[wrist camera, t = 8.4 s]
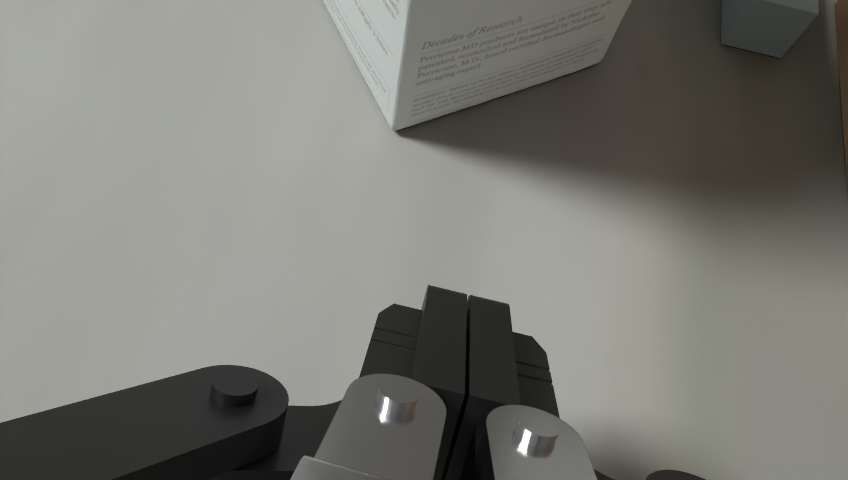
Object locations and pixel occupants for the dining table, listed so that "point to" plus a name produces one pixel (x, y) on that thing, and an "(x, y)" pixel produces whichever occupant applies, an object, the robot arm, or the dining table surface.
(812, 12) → the slate bay
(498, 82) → the supplement box
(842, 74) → the walnut partition
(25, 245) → the dining table surface
